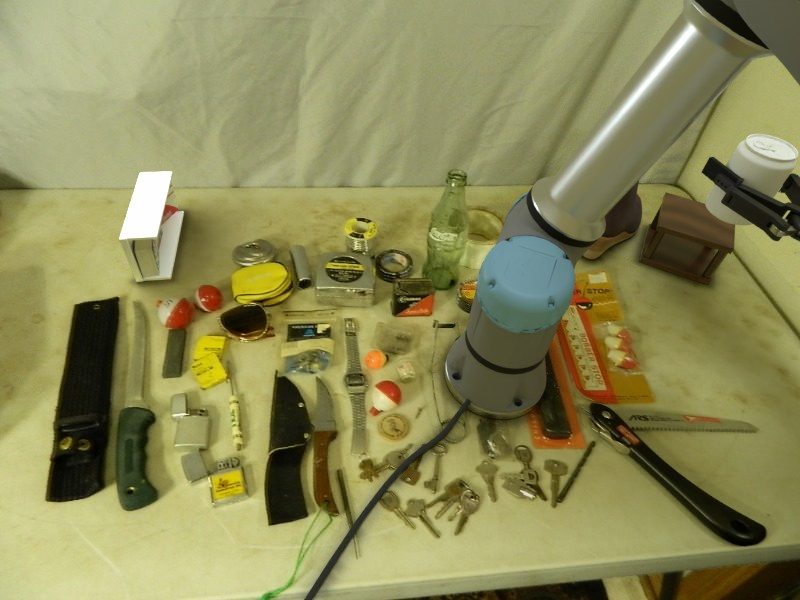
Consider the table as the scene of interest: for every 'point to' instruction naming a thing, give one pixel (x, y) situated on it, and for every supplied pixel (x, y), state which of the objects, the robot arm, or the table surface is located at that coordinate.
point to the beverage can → (755, 171)
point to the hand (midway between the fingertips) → (729, 161)
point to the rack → (687, 239)
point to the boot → (619, 223)
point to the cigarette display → (152, 227)
